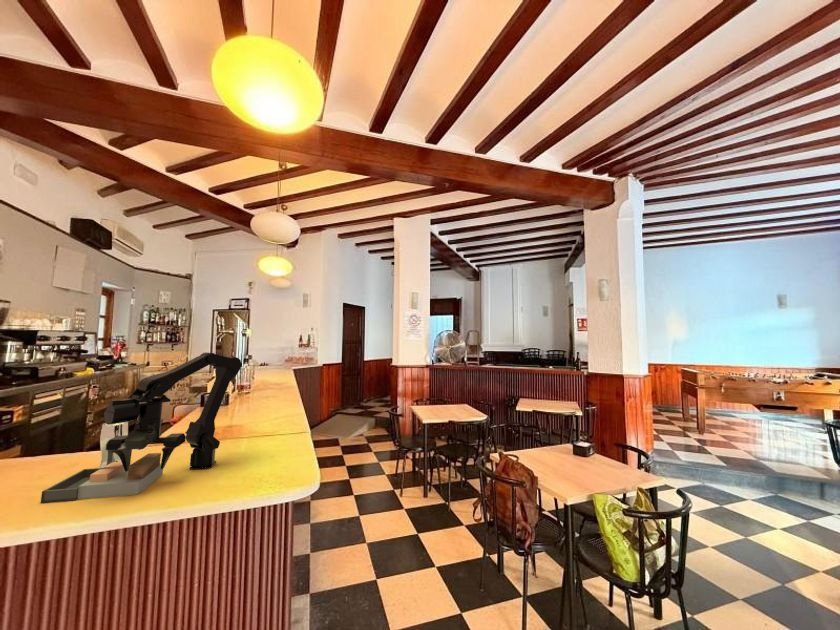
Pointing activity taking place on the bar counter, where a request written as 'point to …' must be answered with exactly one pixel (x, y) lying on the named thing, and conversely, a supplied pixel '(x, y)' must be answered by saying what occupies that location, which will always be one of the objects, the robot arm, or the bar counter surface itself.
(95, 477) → the tile
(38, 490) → the bar counter surface
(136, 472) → the brown wooden plank
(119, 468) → the tile
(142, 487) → the board
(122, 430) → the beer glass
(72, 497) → the tray
